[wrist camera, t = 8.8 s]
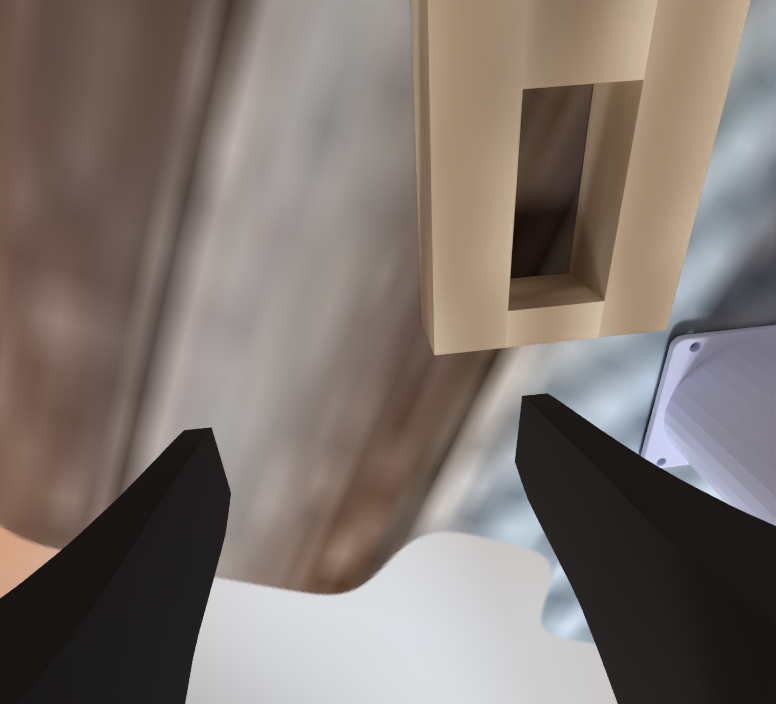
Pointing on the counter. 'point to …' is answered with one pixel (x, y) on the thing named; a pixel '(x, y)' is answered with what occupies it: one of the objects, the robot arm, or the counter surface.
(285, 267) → the counter surface
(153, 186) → the counter surface
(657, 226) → the slotted wooden frame
